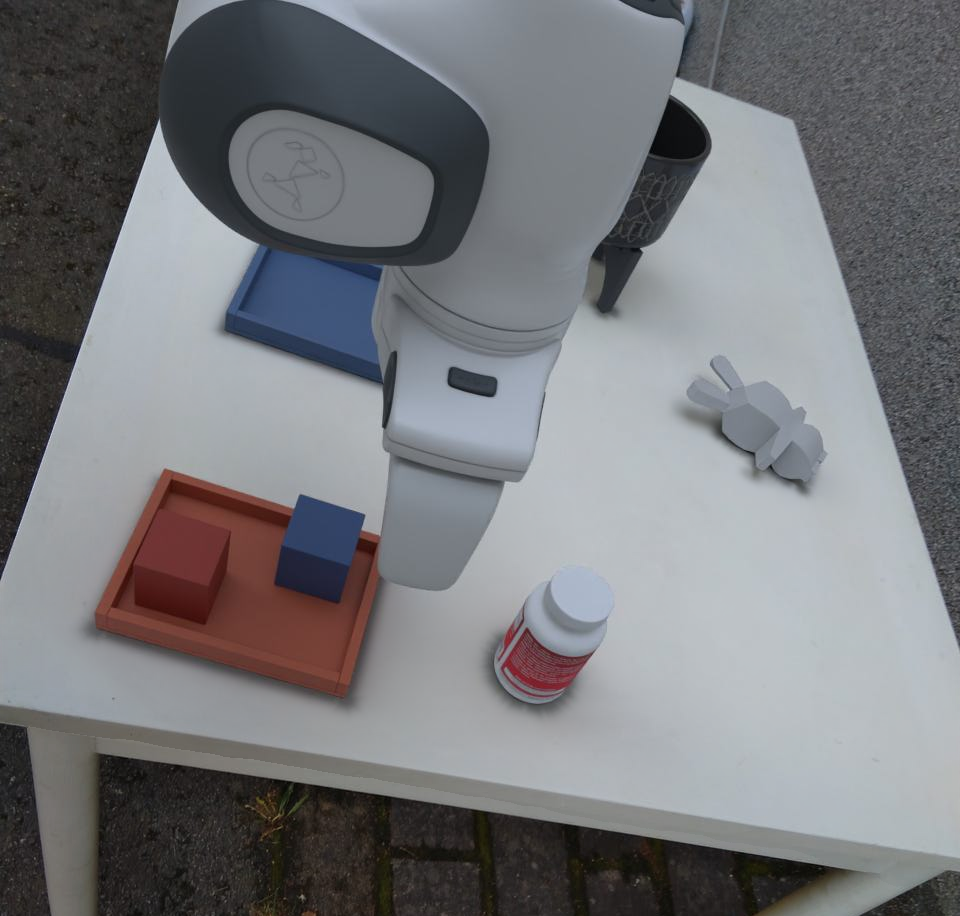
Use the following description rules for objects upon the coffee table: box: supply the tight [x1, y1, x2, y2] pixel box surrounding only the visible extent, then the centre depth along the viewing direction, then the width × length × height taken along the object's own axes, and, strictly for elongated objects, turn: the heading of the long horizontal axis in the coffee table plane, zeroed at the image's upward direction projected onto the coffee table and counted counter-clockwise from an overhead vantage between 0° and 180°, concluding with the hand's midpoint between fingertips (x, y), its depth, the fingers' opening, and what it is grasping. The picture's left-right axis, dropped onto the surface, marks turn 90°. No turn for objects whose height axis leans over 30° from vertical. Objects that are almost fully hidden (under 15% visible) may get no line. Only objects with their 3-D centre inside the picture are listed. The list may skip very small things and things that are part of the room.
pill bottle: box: [493, 565, 615, 705], centre depth 68 cm, size 6×6×11 cm
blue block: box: [274, 493, 366, 604], centre depth 69 cm, size 5×5×5 cm
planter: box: [591, 94, 713, 313], centre depth 94 cm, size 13×13×18 cm
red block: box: [133, 509, 231, 625], centre depth 65 cm, size 5×5×5 cm
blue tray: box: [224, 244, 384, 384], centre depth 86 cm, size 16×14×2 cm
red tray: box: [94, 468, 381, 699], centre depth 68 cm, size 18×14×2 cm
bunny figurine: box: [685, 354, 829, 484], centre depth 93 cm, size 10×5×15 cm
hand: (404, 499), depth 55 cm, fingers open, 8 cm apart
